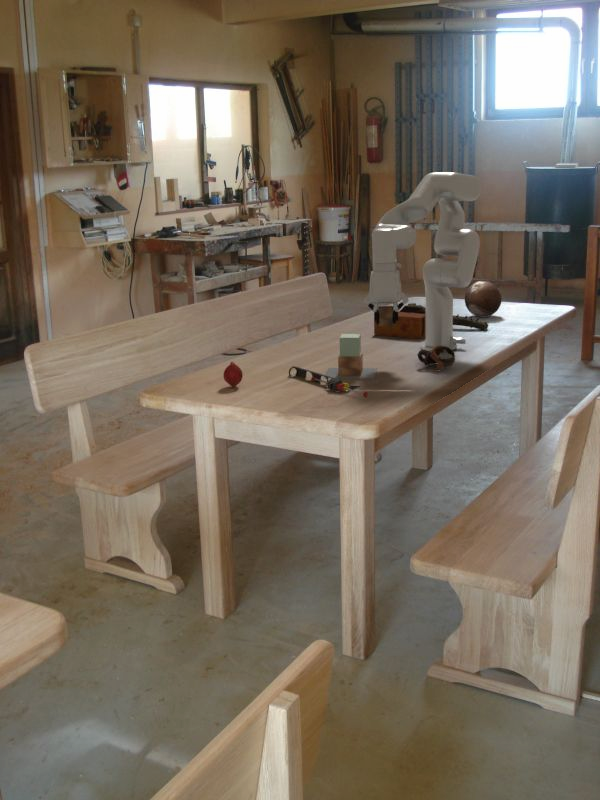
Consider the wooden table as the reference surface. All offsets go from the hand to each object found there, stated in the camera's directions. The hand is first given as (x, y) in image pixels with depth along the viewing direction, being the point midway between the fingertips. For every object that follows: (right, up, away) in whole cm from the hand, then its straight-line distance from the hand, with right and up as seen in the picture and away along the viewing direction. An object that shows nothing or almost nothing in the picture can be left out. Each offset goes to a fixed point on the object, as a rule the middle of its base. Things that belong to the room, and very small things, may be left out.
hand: (386, 322), depth 306 cm
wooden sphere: (+48, +9, +84) cm, 97 cm away
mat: (-12, -17, -7) cm, 22 cm away
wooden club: (+26, +2, +63) cm, 68 cm away
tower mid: (-12, -11, -8) cm, 18 cm away
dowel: (0, -1, 0) cm, 1 cm away
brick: (+11, -1, +52) cm, 53 cm away
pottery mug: (+16, -15, -1) cm, 22 cm away
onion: (-48, -21, -18) cm, 56 cm away
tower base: (-12, -17, -7) cm, 22 cm away
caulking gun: (-18, -22, -21) cm, 35 cm away
